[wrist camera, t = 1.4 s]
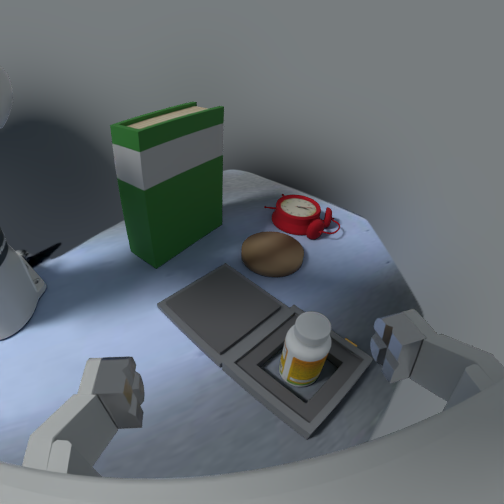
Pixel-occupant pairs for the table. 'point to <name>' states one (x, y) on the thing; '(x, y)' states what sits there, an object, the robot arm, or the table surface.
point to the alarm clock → (300, 216)
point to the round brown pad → (272, 254)
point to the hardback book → (169, 178)
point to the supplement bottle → (305, 349)
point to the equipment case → (258, 343)
